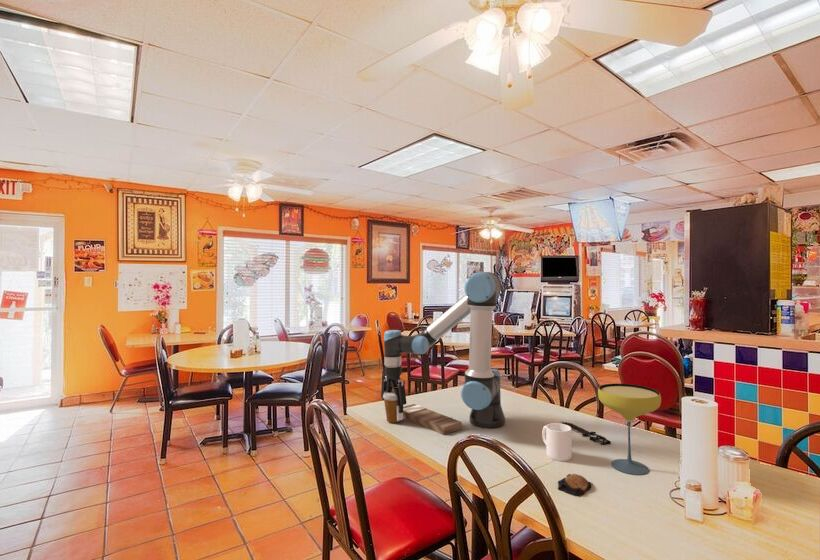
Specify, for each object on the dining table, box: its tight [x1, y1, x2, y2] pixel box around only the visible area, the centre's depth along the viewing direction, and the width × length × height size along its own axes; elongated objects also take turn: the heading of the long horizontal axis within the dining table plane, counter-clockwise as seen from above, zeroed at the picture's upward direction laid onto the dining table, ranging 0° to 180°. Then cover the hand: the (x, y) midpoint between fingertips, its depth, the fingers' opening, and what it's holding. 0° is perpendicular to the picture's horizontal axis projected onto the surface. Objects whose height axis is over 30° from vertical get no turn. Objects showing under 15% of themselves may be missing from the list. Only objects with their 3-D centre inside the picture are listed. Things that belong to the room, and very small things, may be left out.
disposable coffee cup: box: [382, 389, 402, 423], centre depth 181 cm, size 10×10×12 cm
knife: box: [561, 421, 612, 446], centre depth 164 cm, size 25×6×1 cm, turn 13°
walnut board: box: [403, 403, 463, 436], centre depth 180 cm, size 32×10×3 cm, turn 37°
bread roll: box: [557, 473, 593, 498], centre depth 122 cm, size 11×8×4 cm
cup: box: [541, 422, 573, 462], centre depth 144 cm, size 8×12×10 cm
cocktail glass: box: [597, 383, 662, 476], centre depth 134 cm, size 18×18×25 cm
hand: (394, 417), depth 181 cm, fingers closed on disposable coffee cup, 8 cm apart
